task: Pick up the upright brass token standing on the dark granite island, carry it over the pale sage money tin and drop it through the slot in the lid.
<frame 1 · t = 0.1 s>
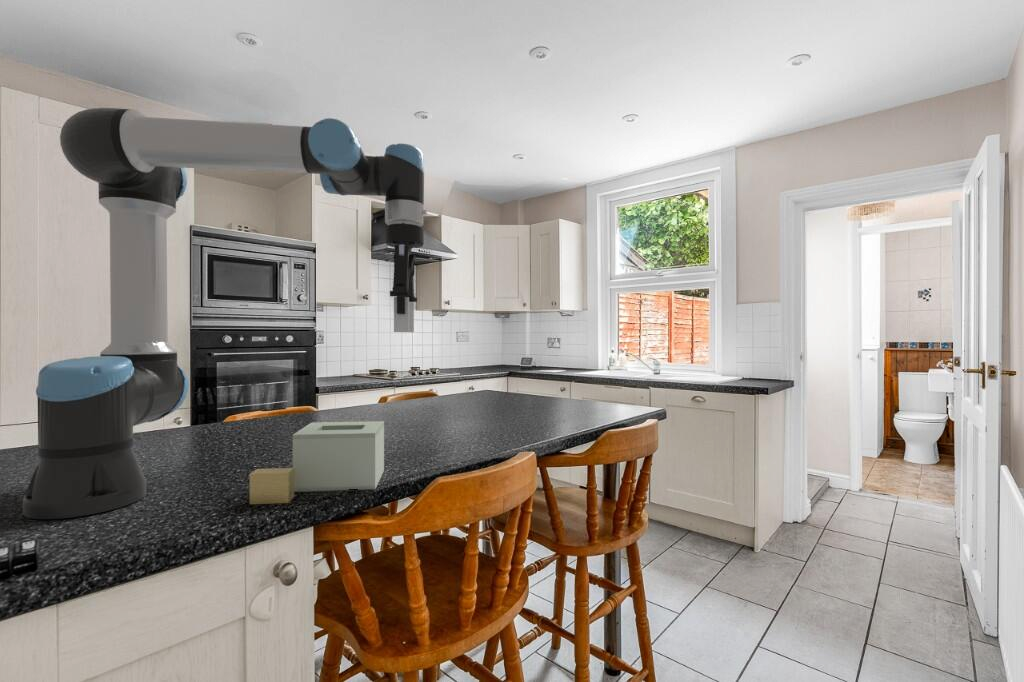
hand: (404, 332, 99), 28 cm above the countertop, fingers open, 13 cm apart
token: (272, 500, 82), on the countertop
coin box: (341, 480, 93), on the countertop
burger: (362, 460, 109), on the countertop
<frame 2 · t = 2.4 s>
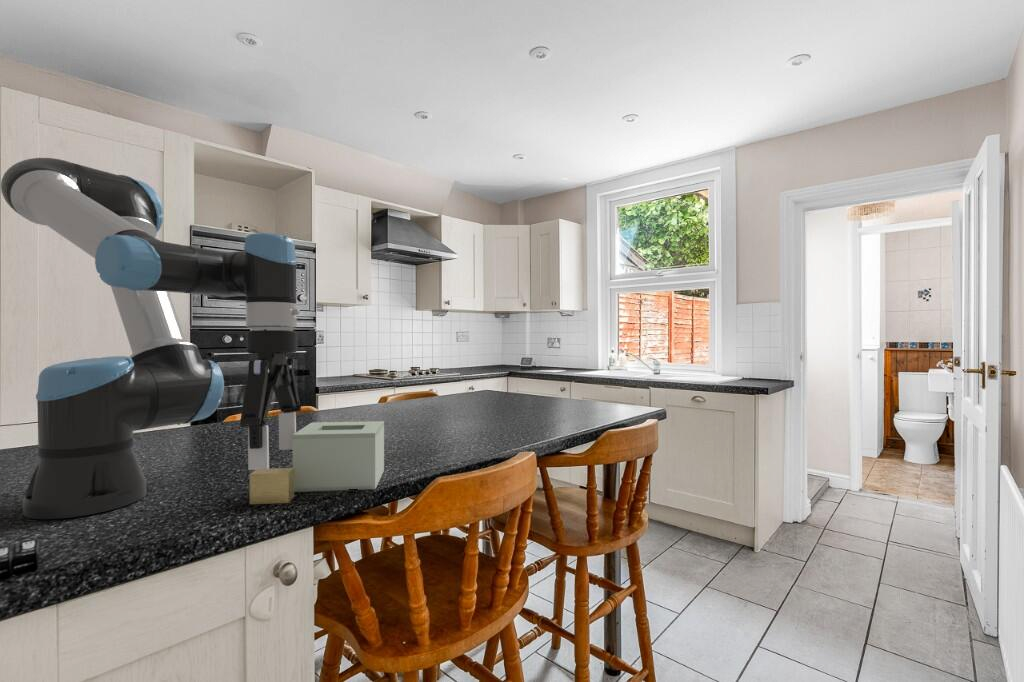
hand: (274, 458, 81), 7 cm above the countertop, fingers open, 13 cm apart
nothing on the countertop moved.
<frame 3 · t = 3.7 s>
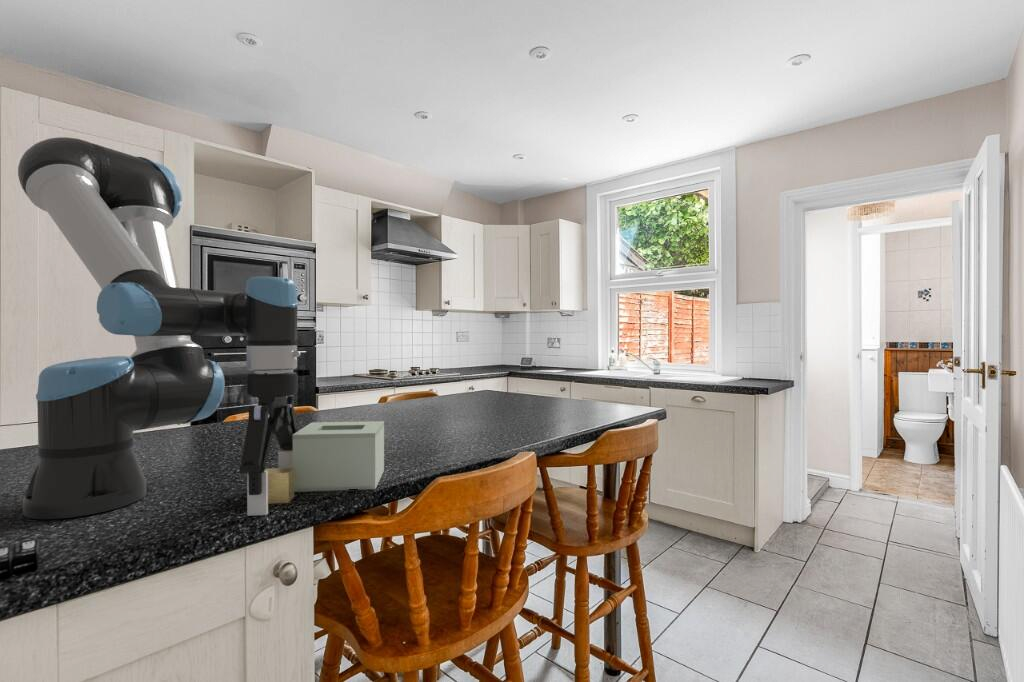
hand: (273, 500, 82), 0 cm above the countertop, fingers open, 13 cm apart
nothing on the countertop moved.
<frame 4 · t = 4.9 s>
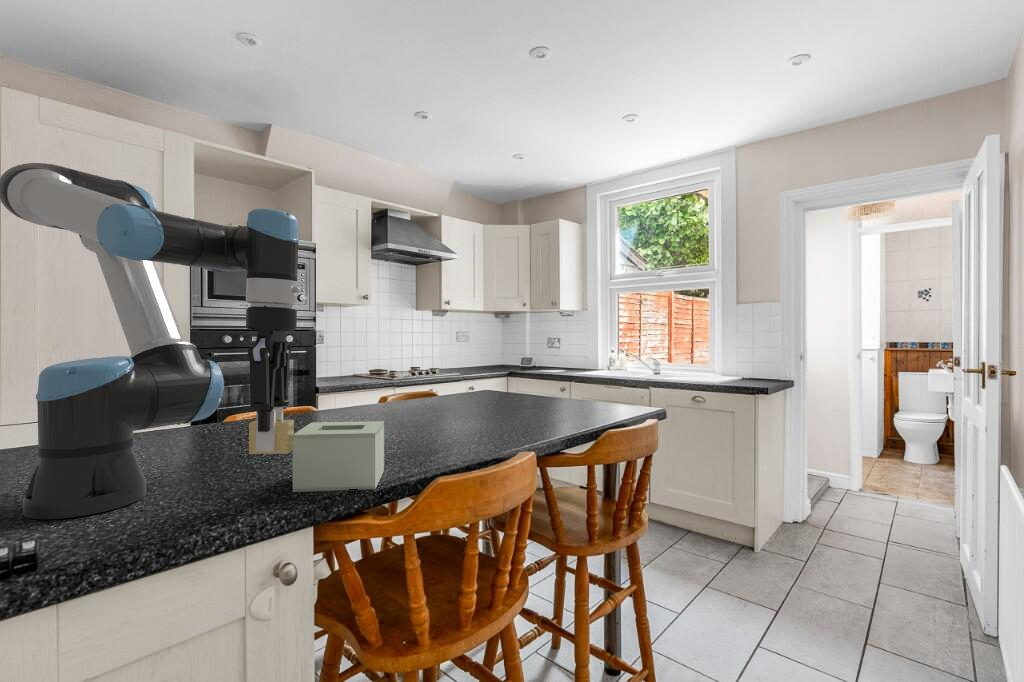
hand: (269, 447, 82), 9 cm above the countertop, fingers closed on token, 3 cm apart
token: (271, 451, 82), point 8 cm above the countertop, touching gripper
everything else where it was.
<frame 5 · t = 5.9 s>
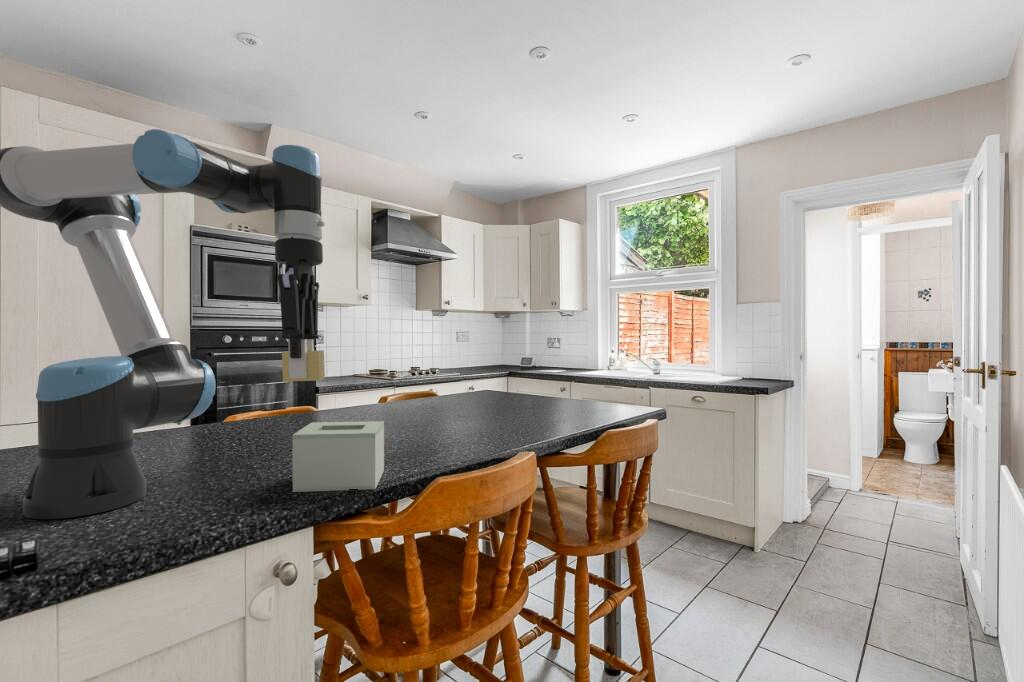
hand: (302, 376, 85), 20 cm above the countertop, fingers closed on token, 3 cm apart
token: (304, 380, 85), point 20 cm above the countertop, touching gripper
everything else where it was.
when the fingers open (12 cm above the countertop, at t = 7.3 s): token drops 11 cm, resting on coin box.
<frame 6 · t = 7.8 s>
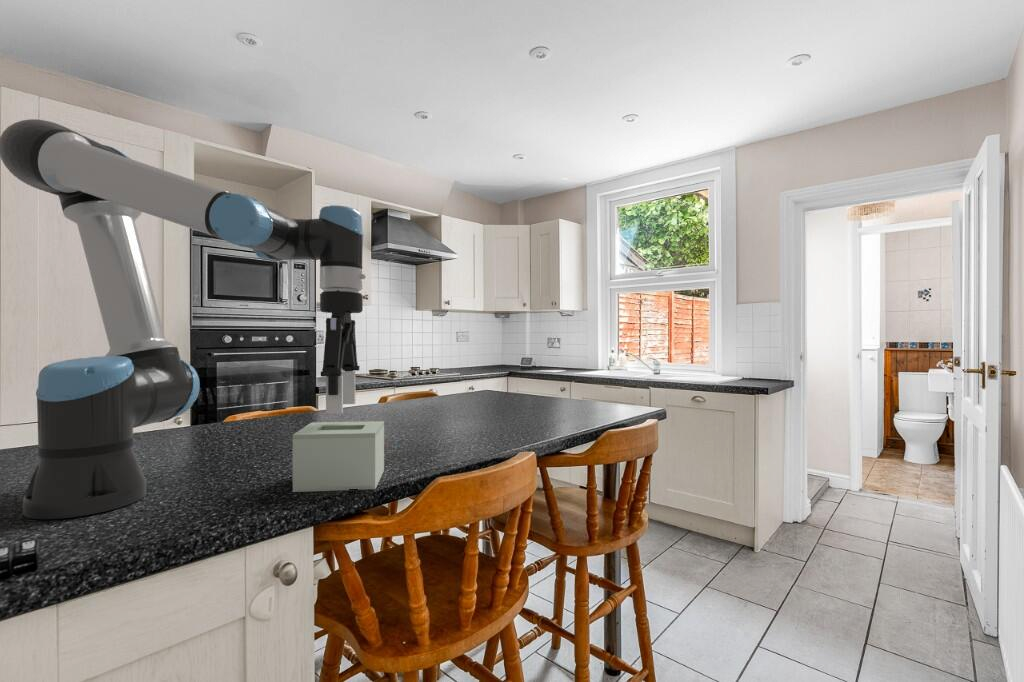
hand: (341, 408, 93), 14 cm above the countertop, fingers open, 11 cm apart
token: (344, 476, 93), point 1 cm above the countertop, touching coin box
everything else where it was.
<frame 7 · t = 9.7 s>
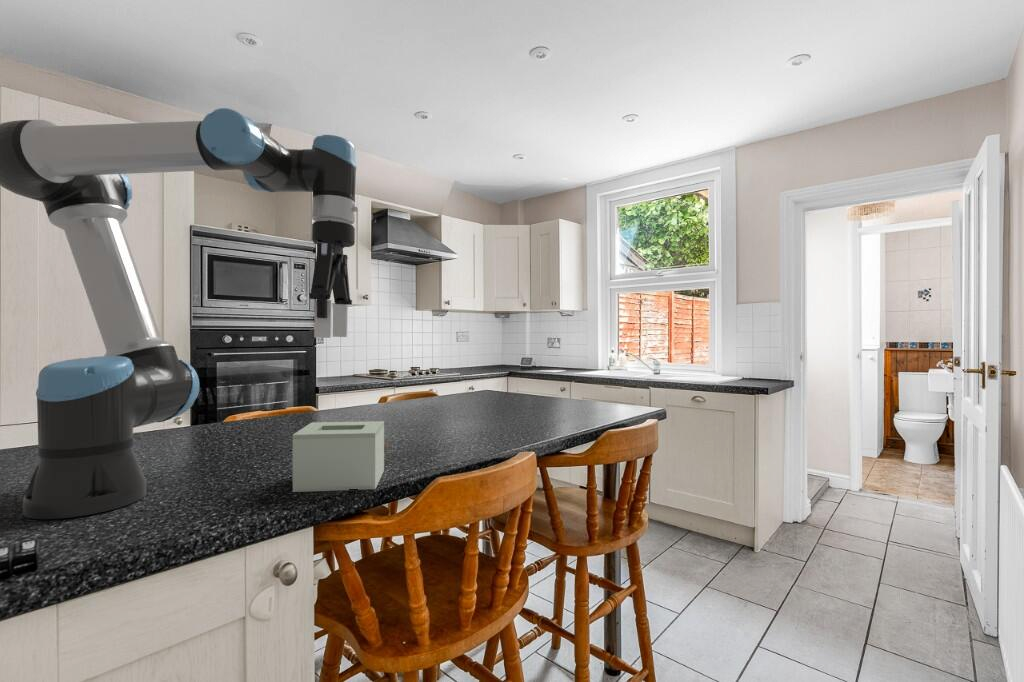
hand: (332, 337, 92), 27 cm above the countertop, fingers open, 13 cm apart
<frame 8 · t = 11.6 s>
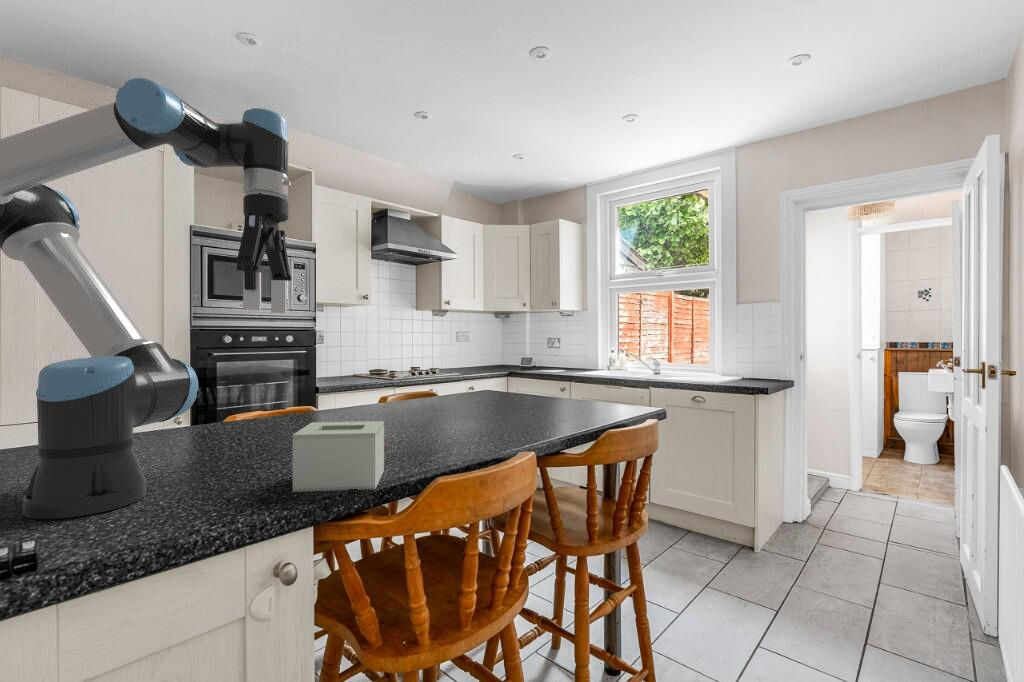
hand: (266, 311, 92), 32 cm above the countertop, fingers open, 13 cm apart
at the end: token inside the target area on the coin box (0.5 cm from its centre), point 0.6 cm above the coin box's base; the gripper is holding nothing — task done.
